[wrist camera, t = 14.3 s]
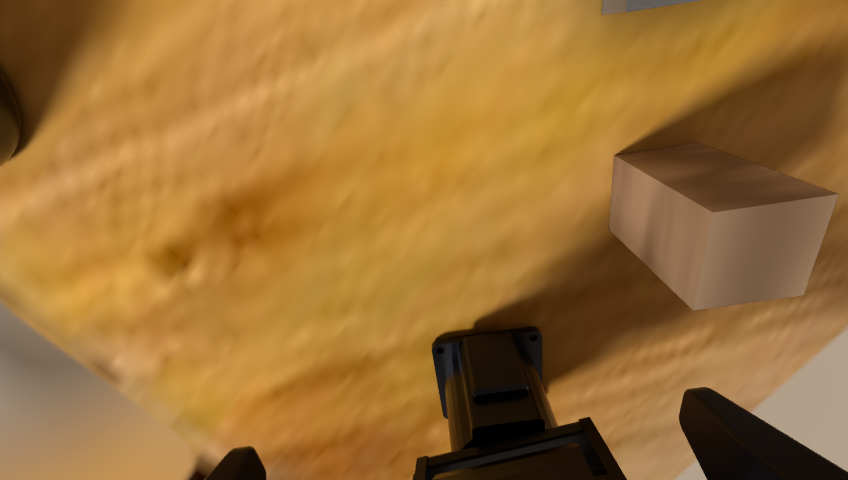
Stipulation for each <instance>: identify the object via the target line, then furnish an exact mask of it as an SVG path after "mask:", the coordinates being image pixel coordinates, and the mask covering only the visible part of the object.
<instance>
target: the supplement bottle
mask: <svg viewBox="0 0 848 480" xmlns="http://www.w3.org/2000/svg"><path fill="white" fill-rule="evenodd" d="M19 137H20V116H19V111H18V107H17V104H16V101H15V99H14V96H13V94H12V92H11V90H10V88H9V86H8V84H7V82H6V81H5V79H4V78H3V76H2V75H1V73H0V166H2V165H3V164H4V163H6V162H7V161H8V160H9V158H10V157H11V156H12V154H13V153H14V151H15V149H16V147H17V145H18V142H19Z"/></svg>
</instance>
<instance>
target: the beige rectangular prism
mask: <svg viewBox="0 0 848 480" xmlns="http://www.w3.org/2000/svg"><path fill="white" fill-rule="evenodd" d="M838 195H839V194H837V193H834V192H832V191H829V190H826V189H824V188H821V187H818V186H815V185H813V184H810V183H807V182H805V181H802V180H799V179H796V178H794V177H791V176H788V175H785V174H783V173H780V172H777V171H775V170H772V169H769V168H766V167H764V166H761V165H758V164H755V163H753V162H750V161H747V160H745V159H742V158H739V157H736V156H734V155H731V154H728V153H726V152H723V151H720V150H717V149H715V148H712V147H709V146H706V145H704V144H701V143H691V144H685V145H678V146H672V147H665V148H658V149H652V150H645V151H639V152H632V153H626V154H619V155H614V163H613V176H612V190H611V203H610V217H609V230H610V231H611V232H612V233H613V234H614V235H615V236H616V237H617V238H618V239H619V240H620V241H621V242H622V243H623V244H624V245H625V246H626V247H628V248H629V249H630V250H631V251H632V252H633V253H634V254H635V255H636V256H637V257H638V258H639V259H640V260H641V261H642V262H643V263H644V264H645V265H646V266H647V267H648V268H649V269H650V270H651V271H652V272H654V273H655V274H656V275H657V276H658V277H659V278H660V279H661V280H662V281H663V282H664V283H665V284H666V285H667V286H668V287H669V288H670V289H671V290H672V291H673V292H674V293H675V294H676V295H677V296H678V297H680V298H681V299H682V300H683V301H684V302H685V303H686V304H687V305H688V306H689V307H690V308H691V309H692V310H693V311H694V310H702V309H709V308H716V307H723V306H730V305H738V304H745V303H752V302H759V301H766V300H774V299H781V298H788V297H795V296H802V295H804V292H805V289H806V286H807V283H808V280H809V278H810V275H811V272H812V269H813V266H814V263H815V261H816V258H817V255H818V252H819V249H820V246H821V244H822V241H823V238H824V235H825V232H826V229H827V226H828V224H829V221H830V218H831V215H832V212H833V209H834V207H835V204H836V201H837V198H838Z"/></svg>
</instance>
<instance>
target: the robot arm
mask: <svg viewBox="0 0 848 480" xmlns="http://www.w3.org/2000/svg"><path fill="white" fill-rule="evenodd" d="M531 335H535V336H533V337H530V336H531ZM440 347H441V348H443V349H438V348H440ZM432 354H433V360H434V365H435V371H436V377H437V383H438V388H439V394H440V400H441V405H442V411H443V416H444V417H445V418H446V419H448V423H449V433H450V442H451V452H449V453H445V454H440V455H436V456H432V457H428V456H423V457H419V458H417V462H416V470H415V474H414V475H413V480H627V479H626V477H625V476H624V474H623V472H622V470H621V469H620V467H619V465H618V464H617V462H616V460H615V459H614V457H613V455H612V454H611V452H610V450H609V449H608V447H607V445H606V444H605V442H604V440H603V439H602V437H601V435H600V433H599V432H598V430H597V428H596V427H595V425H594V423H593V422H592V420H591V418H590V417H587V418H583V419H579V420H578V421H579V422H575V423H571V424H566V425H562V426H558V425H557V422H556V419H555V417H554V414H553V412H552V409H551V406H550V404H549V401H548V399H547V396H546V393H545V391H544V388H543V386H542V335H541V333H540V331H539V329H538V328H536V327H528V328H521V329H514V330H506V331H499V332H492V333H484V334H477V335H470V336H462V337H455V338H448V339H440V340H436V341H435V342H433V344H432ZM679 421H680V425H681V428H682V430H683V432H684V434H685V436H686V438H687V440H688V442H689V444H690V446H691V448H692V450H693V452H694V454H695V456H696V458H697V460H698V462H699V464H700V466H701V468H702V470H703V472H704V474H705V476H706V478H707V480H848V472H847V471H845V470H843V469H842V468H840V467H839V466H837V465H835V464H834V463H832V462H830V461H829V460H827V459H825V458H824V457H822V456H821V455H819V454H817V453H815V452H814V451H812V450H811V449H809V448H807V447H806V446H804V445H802V444H801V443H799V442H798V441H796V440H794V439H793V438H791V437H789V436H788V435H786V434H784V433H783V432H781V431H779V430H778V429H776V428H775V427H773V426H771V425H770V424H768V423H766V422H765V421H763V420H761V419H760V418H758V417H757V416H755V415H753V414H752V413H750V412H748V411H747V410H745V409H743V408H742V407H740V406H738V405H737V404H735V403H734V402H732V401H730V400H729V399H727V398H725V397H724V396H722V395H720V394H719V393H717V392H716V391H714V390H712V389H710V388H707V387H700V388H693V389H687V390H686V391H685V392H684V395H683V400H682V404H681V409H680V414H679ZM204 480H266V470H265V468H264V466H263V464H262V462H261V460H260V458H259V456H258V454H257V452H256V450H255V449H254V448H253V447H251V446H247V447H239V448H234V449H232V450H231V451H230V452H229V453H228V454H227V455H226V456H225V457H224V458H223V459H222V460H221V461H220V463H219V464H218V465H217V466H216V467H215V468H214V469H213V470H212V472H211V473H210V474H209V475H208V476H207V477H206V478H205V479H204Z"/></svg>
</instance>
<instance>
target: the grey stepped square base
mask: <svg viewBox="0 0 848 480" xmlns="http://www.w3.org/2000/svg"><path fill="white" fill-rule="evenodd" d="M693 1H699V0H603V3H602V15H604V14H614V13H624V12H631V11H637V10H643V9H649V8H656V7H662V6H668V5H674V4H681V3H687V2H693Z"/></svg>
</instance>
